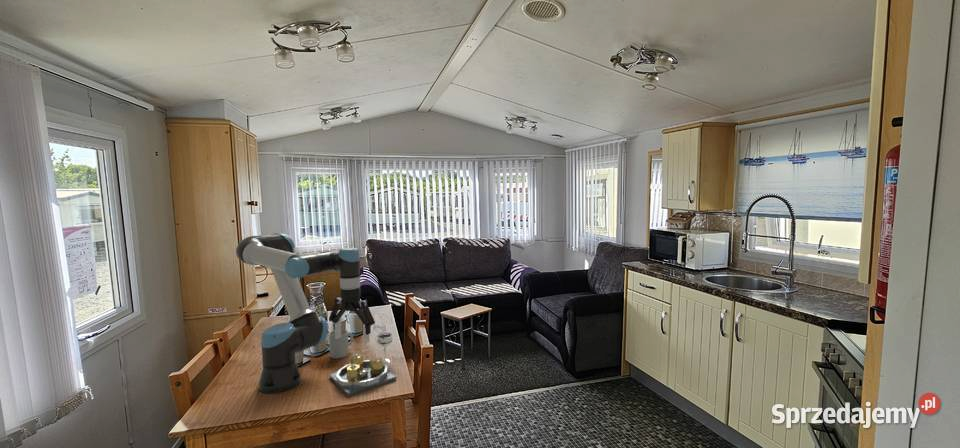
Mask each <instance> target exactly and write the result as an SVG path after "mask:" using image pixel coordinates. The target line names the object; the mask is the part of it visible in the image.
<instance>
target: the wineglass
mask: <svg viewBox="0 0 960 448" xmlns="http://www.w3.org/2000/svg"><path fill="white" fill-rule="evenodd" d="M392 335H393V334H392V333H391V332H381V333H378V334H377V335H376V337H377V339H376V341H377V344H378V345H379V346H380V347H382V348H383V351H384V358H382V362H383V363H385V364H387V363H390V362H391V358H388V357H387V355H386V353H387V352H386V351H387V350H386V349H387V347H389V345H391V344H392V342H393V337H392Z"/></svg>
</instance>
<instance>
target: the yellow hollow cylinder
mask: <svg viewBox="0 0 960 448" xmlns="http://www.w3.org/2000/svg"><path fill="white" fill-rule="evenodd" d="M347 381H352V382H355V381H360V366H359V365H356V364H355V368H354V369H352V367H351V365H350V366H348V367H347Z"/></svg>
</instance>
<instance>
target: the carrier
mask: <svg viewBox="0 0 960 448" xmlns="http://www.w3.org/2000/svg"><path fill="white" fill-rule="evenodd" d="M382 359H383V358H382V357H377V356H375V357H372V358H371V359H367V360H364V356H363V355H362V354H358V353H355V354H353V355H352V356H351V357H350V363H349V364H348V363H347V364H345V365H344V366H343V367H341V368H340V369H338V370H337V371H335V372H334V373H330V374H329V378H330V379H331V381H332V382H333V383H334V384H335V385H336V386H337V387H338V388H339V389H340V390H341V392H343V393H344V395H345V396H346V397H352V396H355V395H358V394H360V393H363V392H366V391H369V390H371V389H374V388H377V387H381V386H383V385H387V384H389V383H391V382H394V380H395V381H397V376H396V375H395V374H393V372H391V371H390V370H389V369H388V365H387V363H383V362H382ZM355 364H356V365H359V366H360V381H355V382H352V381H347V367H348V366H350V365H351V367H352V369H354V368H355Z"/></svg>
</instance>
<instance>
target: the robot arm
mask: <svg viewBox="0 0 960 448" xmlns="http://www.w3.org/2000/svg"><path fill="white" fill-rule="evenodd" d="M295 248H296V246H295V243H294V240H293V239H292V237H291V236H290V235H288V234H285V233H278V232H277V233H271V234H261V235H252V236H247V237H245V238H243V239H242V240H241V241H239V243H238V244H237V246H236V248H235V249H236V250H235V254H236V257H237V259H238V260H239V261H240V262H242V263H244V264H247V265H251V266H255V265H259V266H260V265H261V266H263V267H265V268H267V269H270V270H271V272H272V276H273V277H274V280H275V283H276V285H277V288H278V290H279V294H280V296H281V298H282V301H283V303H284V305H285V307H286V308H285V309H286V310H287V313H288V315H289V320H288V321H287V322H282V323H277V324H274V325H271V326H269V327H268V328H266V329H265V330H264V331H263V332H262V333H261V338H260V340H261V341H260V344H261V345H260V346H261V355H262V358H261V359H262V370H261V373H260V377H259V381H258V390H259V391H260V392H262V393H264V394H276V393H282V392H286V391H288V390H291V389H293V388H295V387H297V386H298V385H299V384H300V383H301V381H302V373H301V372H300V369H299V367H298V365H297V361H296V354H297V353H300V352H302V351H304V350H307V349H310V348H312V347H316V346H318V345H319V344H321V343H323V342H325V340H326V339H327V335H328V332H329V325H328V322H327V319H325V318H324V316H322V315H318V314H317V311H315V310H312V309H311V307H310V304H309V302H308V300H307V297H306V295H305V293H304V290H303V287H302V285H301V282H300V280H299V279H302V278H304V277H309V276H312V275H317V274H322V273H326V272H333V271H334V272H339V287H340V297H337V298H334V303H333V307H332V309H331V311H330V315H329V317H328V321H331V322H332V323H333V326H332V327H333V331H334V330H335V339H338V338H340V337H341V329H342V321H341V318H342V317H343V315H344V314H345V313H346V312H353V313H354V314H356V315H357V318H359V320H360V321H361V322H362V324H363V327H362V330H363V331H362V333H363V344H367V343H368V342H370V334H372V332H371V328H372V327H371V326H373V325H375V323H376V321H375V319H374V316H373V314H372V312H371V310H370V307H369V304H368V300H367V299H365V300H361V292H362V291H361V290H362V289H361V269H360V267H361V264H360V263H361V262H360V261H361V257H360V250H359V248H357V247H341V248H339V251H331V250H323V251H320V252H319V253H316V254H310V255H303V254H302V255H301V254H299V253H295V252H296V249H295Z"/></svg>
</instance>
